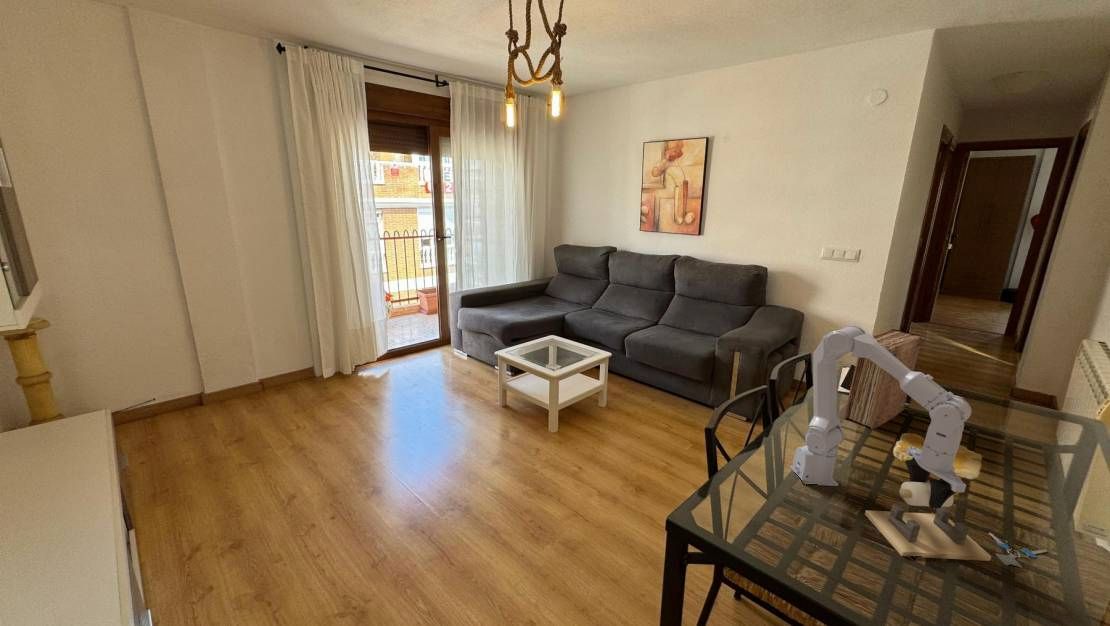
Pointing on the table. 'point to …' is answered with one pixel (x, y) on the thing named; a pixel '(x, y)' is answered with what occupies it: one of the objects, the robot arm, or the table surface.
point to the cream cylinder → (919, 494)
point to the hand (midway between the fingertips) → (925, 498)
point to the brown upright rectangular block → (881, 381)
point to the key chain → (1011, 557)
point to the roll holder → (926, 534)
